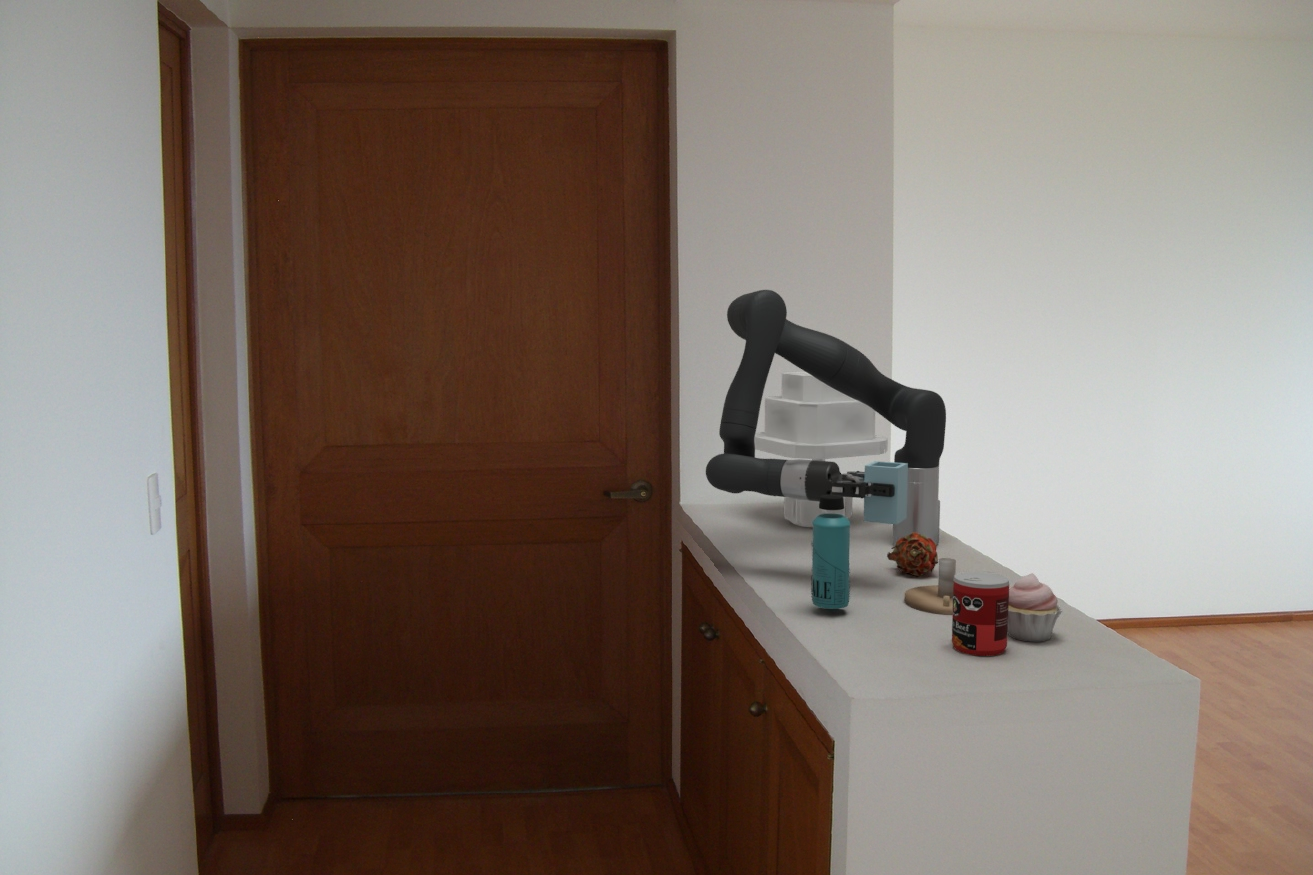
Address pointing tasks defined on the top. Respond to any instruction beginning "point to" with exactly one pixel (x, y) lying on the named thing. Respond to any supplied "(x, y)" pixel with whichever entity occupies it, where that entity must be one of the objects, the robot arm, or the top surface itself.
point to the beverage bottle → (830, 556)
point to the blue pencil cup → (887, 507)
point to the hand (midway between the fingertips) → (899, 487)
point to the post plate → (935, 591)
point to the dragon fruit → (914, 554)
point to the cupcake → (1032, 610)
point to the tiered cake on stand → (816, 433)
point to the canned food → (980, 613)
